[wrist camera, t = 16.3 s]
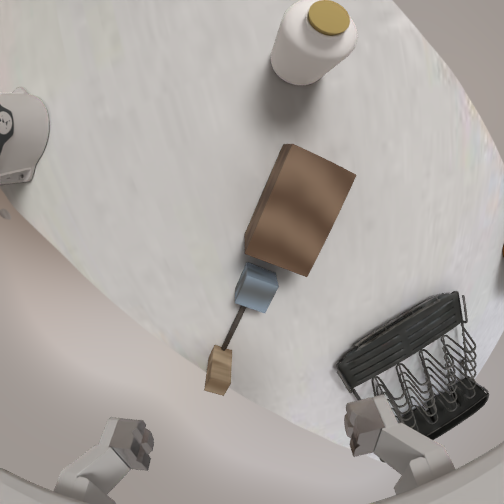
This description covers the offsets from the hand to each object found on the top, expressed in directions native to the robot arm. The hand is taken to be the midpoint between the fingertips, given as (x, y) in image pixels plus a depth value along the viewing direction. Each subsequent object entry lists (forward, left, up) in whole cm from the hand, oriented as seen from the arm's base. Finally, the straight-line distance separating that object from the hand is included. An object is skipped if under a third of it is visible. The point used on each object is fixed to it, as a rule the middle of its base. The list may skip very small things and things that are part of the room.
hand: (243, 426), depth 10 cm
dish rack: (+35, -43, -38) cm, 67 cm away
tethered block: (-4, -19, -37) cm, 42 cm away
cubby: (+7, 0, -37) cm, 38 cm away
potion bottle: (+11, +22, -37) cm, 45 cm away
